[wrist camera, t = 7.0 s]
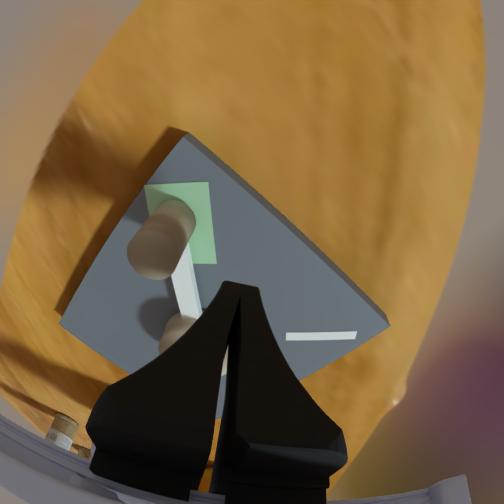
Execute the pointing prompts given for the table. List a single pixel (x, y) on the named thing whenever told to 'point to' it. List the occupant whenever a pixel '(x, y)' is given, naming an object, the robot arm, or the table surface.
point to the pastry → (84, 452)
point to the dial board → (221, 273)
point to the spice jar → (62, 431)
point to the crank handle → (170, 263)
